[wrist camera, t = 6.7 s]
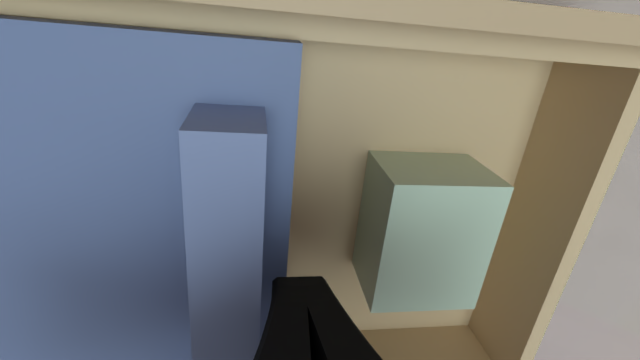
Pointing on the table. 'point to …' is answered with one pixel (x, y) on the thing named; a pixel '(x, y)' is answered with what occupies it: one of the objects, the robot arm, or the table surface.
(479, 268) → the packed item
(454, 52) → the beige shallow box
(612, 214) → the table surface
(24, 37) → the lid
